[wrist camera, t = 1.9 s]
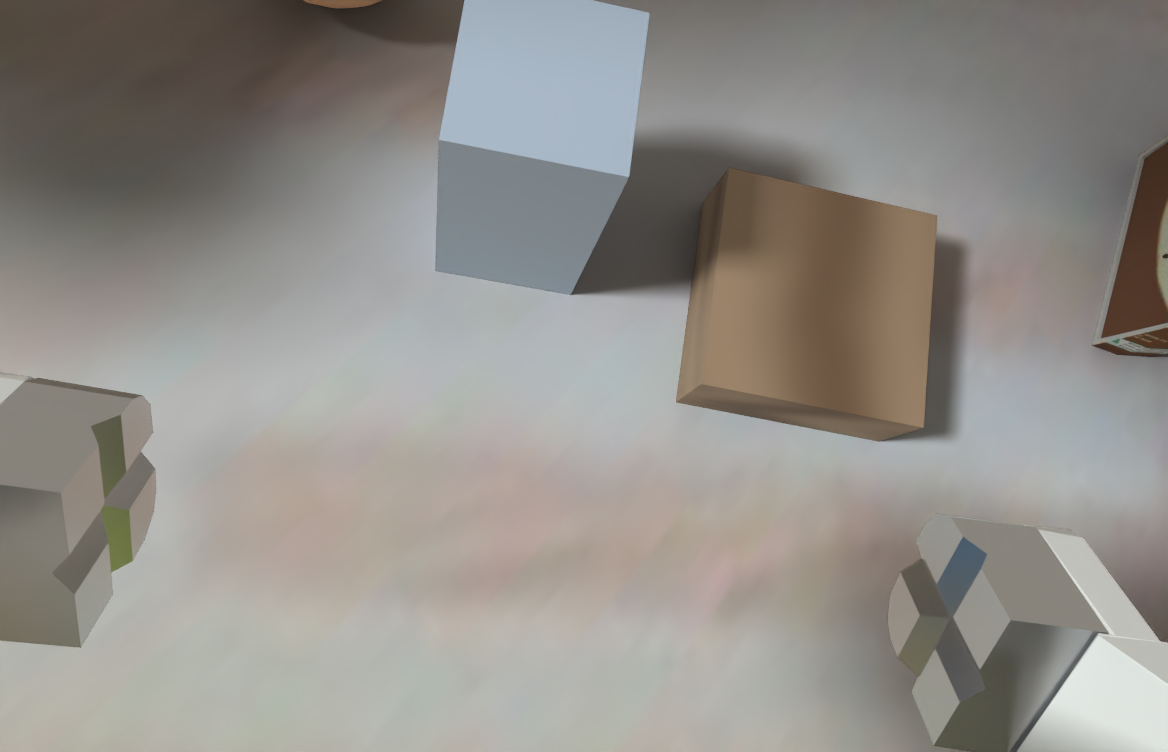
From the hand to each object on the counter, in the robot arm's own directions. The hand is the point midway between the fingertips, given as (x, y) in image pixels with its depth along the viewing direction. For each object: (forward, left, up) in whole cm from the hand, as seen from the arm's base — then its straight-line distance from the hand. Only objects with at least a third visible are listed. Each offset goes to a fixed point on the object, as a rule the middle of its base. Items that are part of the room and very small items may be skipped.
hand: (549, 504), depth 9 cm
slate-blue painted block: (0, +12, -22) cm, 25 cm away
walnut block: (+11, +10, -22) cm, 27 cm away
